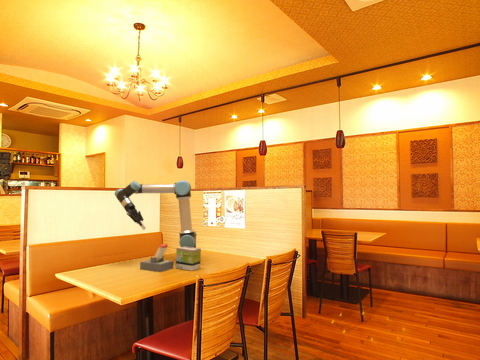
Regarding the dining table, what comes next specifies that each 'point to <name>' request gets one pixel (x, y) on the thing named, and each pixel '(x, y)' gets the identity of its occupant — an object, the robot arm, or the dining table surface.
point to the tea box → (188, 258)
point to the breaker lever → (160, 252)
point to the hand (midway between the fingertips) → (144, 228)
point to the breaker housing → (156, 265)
